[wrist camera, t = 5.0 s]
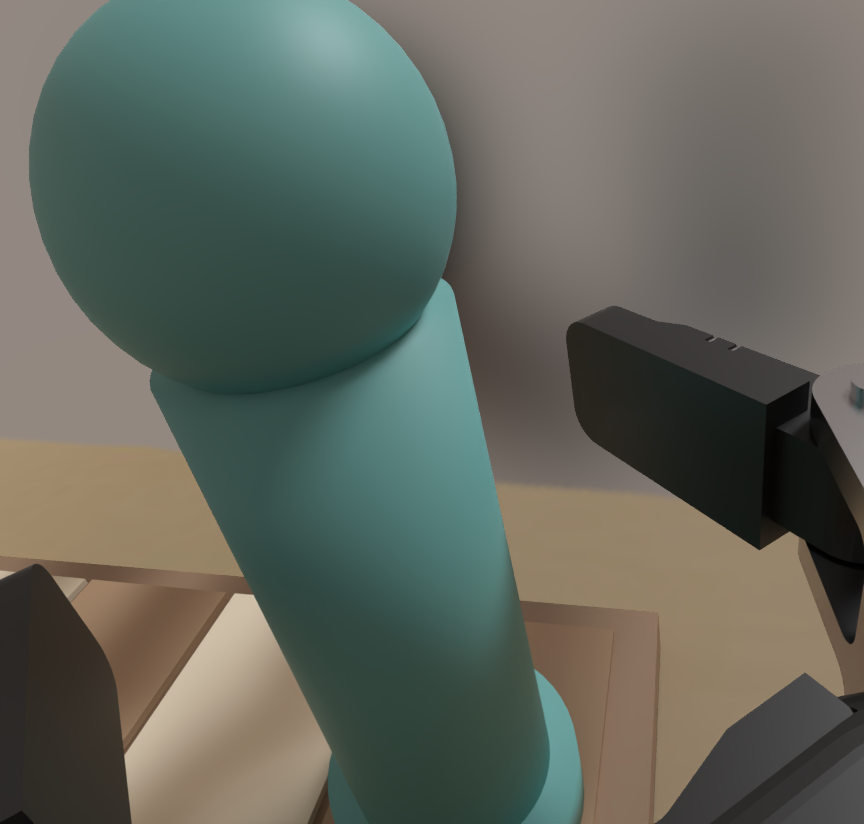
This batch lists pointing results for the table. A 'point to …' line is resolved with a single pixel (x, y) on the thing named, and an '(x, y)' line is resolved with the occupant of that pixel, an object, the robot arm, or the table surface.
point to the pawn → (312, 375)
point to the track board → (290, 713)
